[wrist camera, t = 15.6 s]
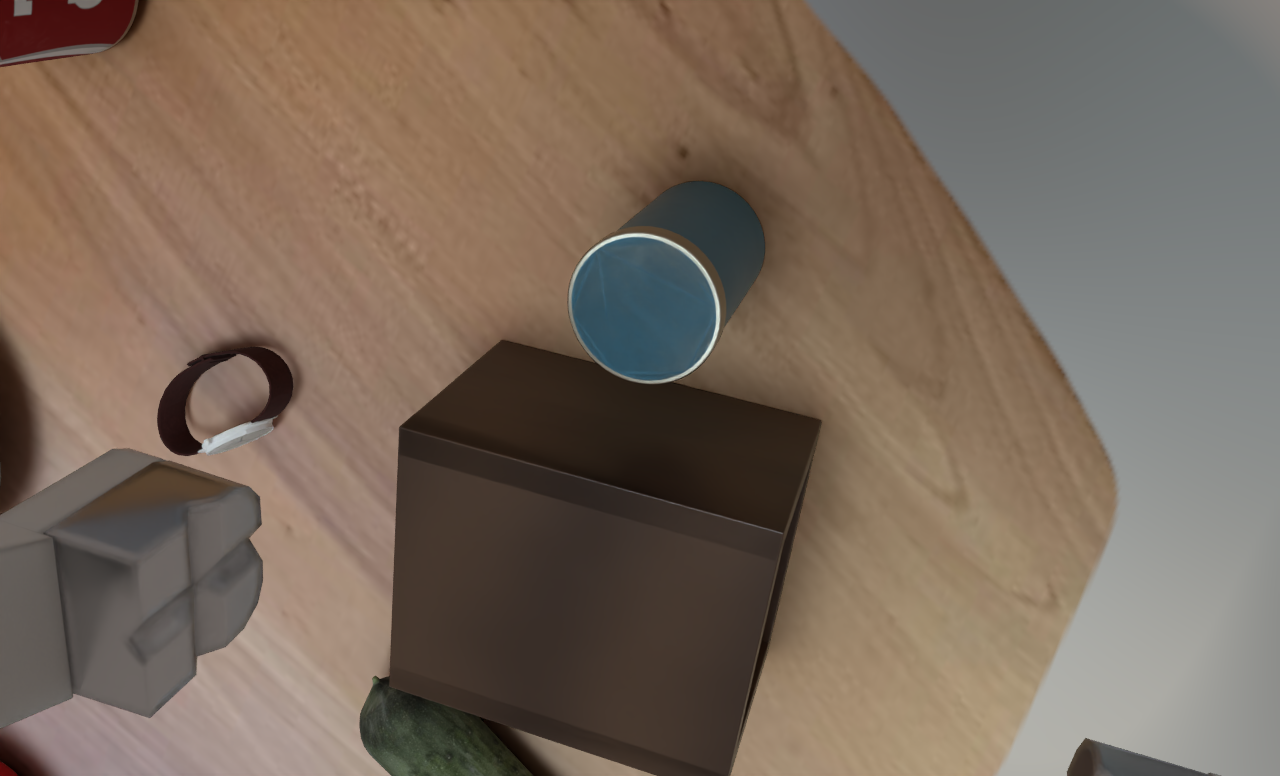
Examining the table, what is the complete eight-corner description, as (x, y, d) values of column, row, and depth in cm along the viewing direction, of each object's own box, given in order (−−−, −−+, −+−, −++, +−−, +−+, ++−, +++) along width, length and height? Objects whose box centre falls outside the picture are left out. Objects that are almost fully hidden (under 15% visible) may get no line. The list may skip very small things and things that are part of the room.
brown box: (822, 420, 43) (784, 532, 35) (767, 653, 48) (723, 798, 40) (501, 339, 45) (398, 426, 38) (482, 568, 51) (388, 687, 43)
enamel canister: (779, 193, 40) (734, 251, 33) (754, 321, 42) (707, 401, 35) (647, 165, 41) (575, 216, 34) (629, 292, 43) (559, 364, 36)
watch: (218, 459, 53) (169, 493, 50) (162, 380, 52) (108, 409, 49) (324, 401, 50) (279, 434, 46) (266, 315, 49) (216, 342, 45)
